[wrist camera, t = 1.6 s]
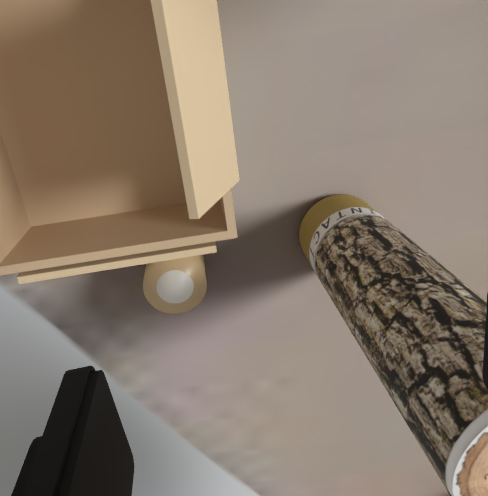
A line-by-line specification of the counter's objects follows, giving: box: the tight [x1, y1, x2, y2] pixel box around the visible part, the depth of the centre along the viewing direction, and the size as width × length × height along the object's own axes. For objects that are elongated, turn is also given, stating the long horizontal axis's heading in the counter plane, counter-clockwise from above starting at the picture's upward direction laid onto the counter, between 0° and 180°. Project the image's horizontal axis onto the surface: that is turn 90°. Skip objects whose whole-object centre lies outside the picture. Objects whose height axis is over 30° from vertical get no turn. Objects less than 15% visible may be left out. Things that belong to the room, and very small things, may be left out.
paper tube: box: [299, 194, 488, 496], centre depth 29 cm, size 7×7×25 cm
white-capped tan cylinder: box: [143, 255, 207, 314], centre depth 37 cm, size 5×5×5 cm
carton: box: [0, 0, 238, 284], centre depth 30 cm, size 22×16×8 cm
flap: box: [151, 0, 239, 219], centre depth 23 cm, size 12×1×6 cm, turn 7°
